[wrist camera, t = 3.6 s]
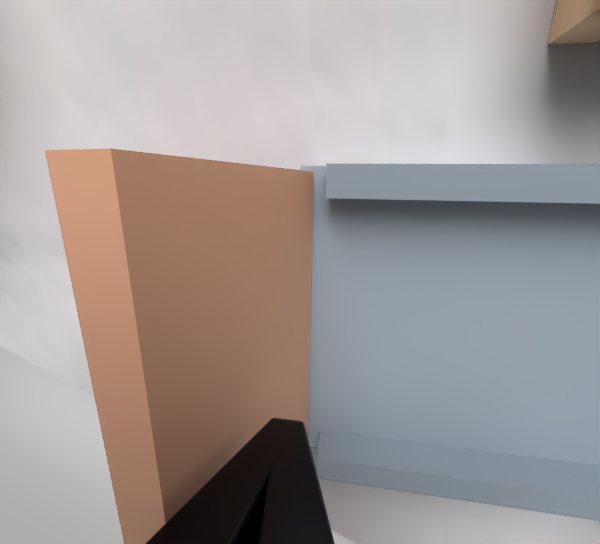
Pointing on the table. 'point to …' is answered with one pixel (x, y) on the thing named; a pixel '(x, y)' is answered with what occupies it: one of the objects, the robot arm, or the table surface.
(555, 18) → the upright cardboard box
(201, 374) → the panel
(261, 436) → the robot arm
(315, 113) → the table surface
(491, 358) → the truck bed
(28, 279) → the table surface
